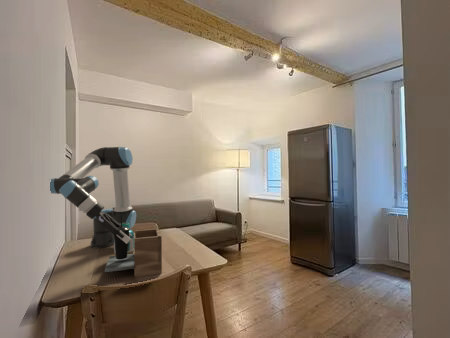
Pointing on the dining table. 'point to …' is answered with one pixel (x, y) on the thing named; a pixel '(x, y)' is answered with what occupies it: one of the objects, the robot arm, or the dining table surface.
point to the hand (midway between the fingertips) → (129, 239)
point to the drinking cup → (121, 243)
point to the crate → (141, 255)
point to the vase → (131, 242)
